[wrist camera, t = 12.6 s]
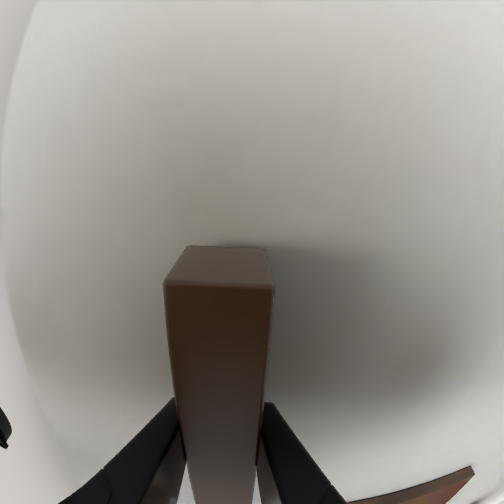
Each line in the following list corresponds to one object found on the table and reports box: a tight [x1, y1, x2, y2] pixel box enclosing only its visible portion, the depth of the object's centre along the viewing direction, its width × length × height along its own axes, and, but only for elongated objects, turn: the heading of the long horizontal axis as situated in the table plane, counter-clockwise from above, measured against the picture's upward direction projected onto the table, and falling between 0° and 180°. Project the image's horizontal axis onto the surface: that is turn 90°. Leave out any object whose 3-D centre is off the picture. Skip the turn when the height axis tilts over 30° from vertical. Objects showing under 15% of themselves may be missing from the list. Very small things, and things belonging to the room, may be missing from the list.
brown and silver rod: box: [163, 246, 275, 504], centre depth 9 cm, size 2×21×2 cm, turn 178°
